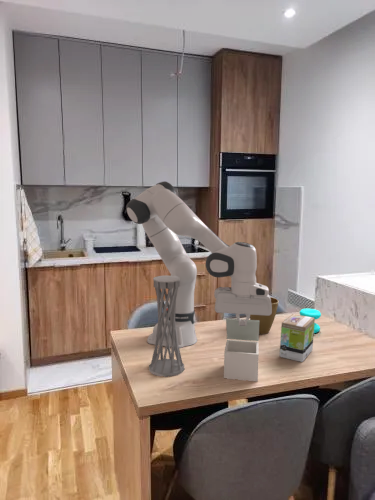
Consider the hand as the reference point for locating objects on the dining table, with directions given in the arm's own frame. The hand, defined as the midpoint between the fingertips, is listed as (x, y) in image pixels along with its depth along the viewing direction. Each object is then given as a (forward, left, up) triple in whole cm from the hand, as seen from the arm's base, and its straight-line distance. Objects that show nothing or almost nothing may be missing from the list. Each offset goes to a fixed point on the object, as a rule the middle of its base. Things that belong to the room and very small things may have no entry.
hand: (242, 325), depth 138 cm
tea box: (+22, +24, -19) cm, 38 cm away
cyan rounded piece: (+31, +54, -19) cm, 65 cm away
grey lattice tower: (-28, 0, -19) cm, 34 cm away
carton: (0, +2, -19) cm, 19 cm away
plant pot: (+8, +48, -19) cm, 52 cm away
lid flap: (0, +4, -3) cm, 5 cm away
